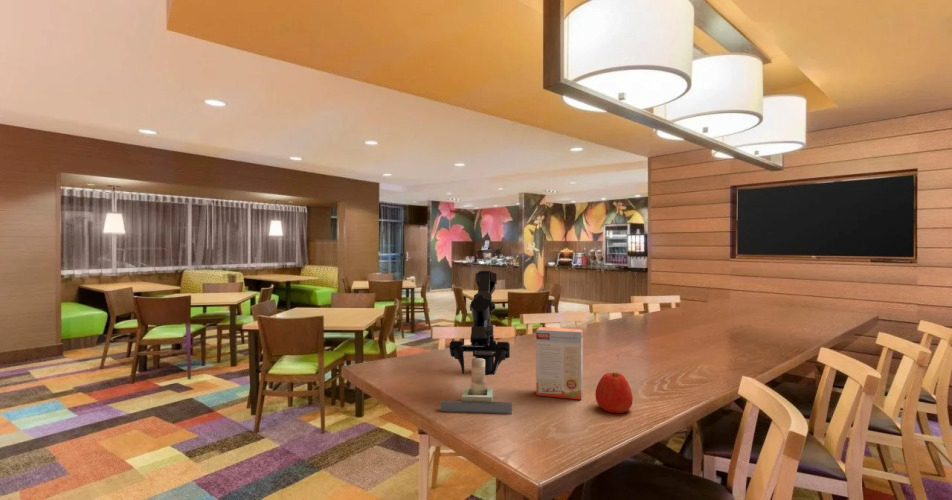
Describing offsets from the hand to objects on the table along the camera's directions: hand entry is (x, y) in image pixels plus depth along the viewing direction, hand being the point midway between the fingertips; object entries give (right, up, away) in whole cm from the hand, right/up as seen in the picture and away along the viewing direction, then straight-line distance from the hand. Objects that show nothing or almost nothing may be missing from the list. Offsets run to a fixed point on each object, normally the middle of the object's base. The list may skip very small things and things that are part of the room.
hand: (478, 373), depth 131 cm
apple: (+39, -9, -6) cm, 40 cm away
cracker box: (+26, -9, +6) cm, 28 cm away
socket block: (0, -9, -2) cm, 9 cm away
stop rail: (-1, -8, -8) cm, 12 cm away
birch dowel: (0, -8, -2) cm, 8 cm away
